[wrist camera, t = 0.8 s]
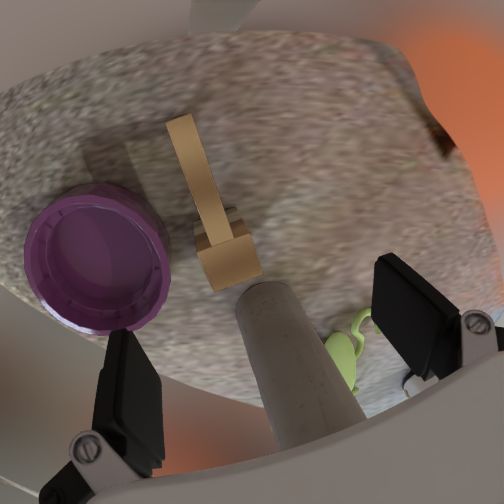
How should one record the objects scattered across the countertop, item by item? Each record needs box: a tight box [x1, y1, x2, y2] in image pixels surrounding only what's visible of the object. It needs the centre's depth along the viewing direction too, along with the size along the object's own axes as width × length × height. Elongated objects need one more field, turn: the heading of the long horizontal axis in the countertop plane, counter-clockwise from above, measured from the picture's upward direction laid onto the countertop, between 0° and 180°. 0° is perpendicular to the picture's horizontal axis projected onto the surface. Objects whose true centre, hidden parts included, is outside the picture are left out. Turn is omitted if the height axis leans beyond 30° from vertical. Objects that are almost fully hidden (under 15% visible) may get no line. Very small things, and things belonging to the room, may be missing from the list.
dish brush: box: [166, 113, 263, 292], centre depth 26 cm, size 15×5×7 cm, turn 16°
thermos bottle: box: [236, 282, 367, 452], centre depth 26 cm, size 8×8×28 cm
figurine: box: [271, 308, 381, 430], centre depth 45 cm, size 18×27×6 cm
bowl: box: [24, 182, 171, 336], centre depth 28 cm, size 16×16×5 cm
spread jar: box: [403, 371, 438, 399], centre depth 55 cm, size 12×11×12 cm
